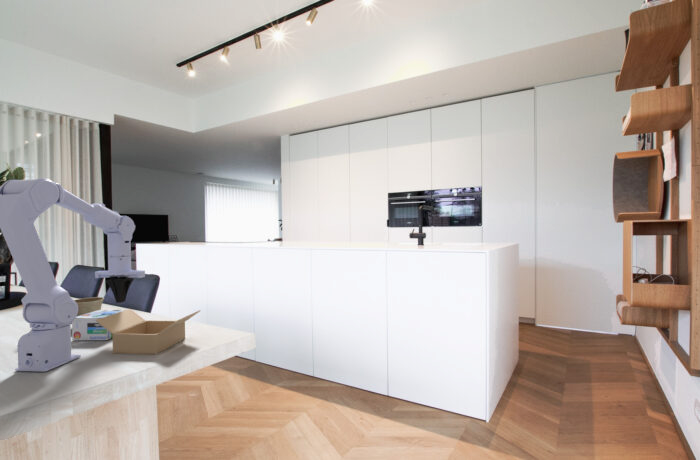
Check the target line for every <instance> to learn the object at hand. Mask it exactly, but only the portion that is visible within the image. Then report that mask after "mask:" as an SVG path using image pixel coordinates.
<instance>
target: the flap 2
mask: <svg viewBox="0 0 700 460" xmlns="http://www.w3.org/2000/svg"><path fill="white" fill-rule="evenodd" d="M200 312H201V309H200V310H197V311H195V312H193V313H191V314H189V315H186V316H184V317H182V318H180V319H178V320H174V321H175V322H173V323H172V324H171V325H169V326H168V327H166V328H165V329H163V330H162V331H161V332H159V333H158V334H157V335H159V334H161V333H163V332H165V331H167V330H169V329H171V328H173V327H175V326H177V325H179V324H181V323H183V322H185V323H186V322H187V321H188V320H190V319H191V318H192V317H194V316H195V315H197V314H198V313H200Z"/></svg>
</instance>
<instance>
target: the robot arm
mask: <svg viewBox="0 0 700 460" xmlns="http://www.w3.org/2000/svg"><path fill="white" fill-rule="evenodd" d="M53 205H57V206H59V207H62V208H64V209H67V210H69V211H70V212H74V213H76V214H79V215H80V216H82V219H83V221H84V222H86V223H88V224H90V225H93V226H94V227H97V228H99V229H101V230H102V232H103V234H105V235H106V236H107V270H97V271H94V278H95V279H101V278H103V279H104V278H105V279H106V278H107V279H106V280H105V281H106V282H105V284H107V285H108V286H109V288H110V290H111V292H112V295H113V297H114V300H115V303H116V304H117V303H119V304H120V303H124V302H126V299H127V294H128V292H129V289H130V287H131V285H132V283H133V281H134V279H135V278H137V279H142V278H146V271H145V270H137V269H136V270H135V269H132V247H131V241H132V239H133V234H134V232H135V230H136V224H135V222H134V220H133V219H132V218H131V217H129V216H127V215H120V214H119V212H118V211H116V210H115V211H114V210H112V209H110V208H108V207H106V204H104V203H102V202H100V203H98V202H97V203H95V202H94V203H91V204H90V203H89V202H87V201H85V200H84V199H82V198H80V197H78V196H77V195H76V194H73V193H72V192H70V191H68V190H66V189H65V188H64V187H63V186H62V184H60V183H57V182H55V181H54V180H51V179H49V178H46V177H42V178H35V179H34V178H32V179H9V180H7V181H5V182H4V183H2V185H1V186H0V230H1V234H2V235H3V237H4V240H5V242H6V246H7V247H8V248H7V249H8V250H9V252H10V255H11V256H12V260H13V261H14V264H15V266H16V269H17V271H18V274H19V276H20V278H21V281H22V282H23V283H22V284H23V285H24V288H25V290H26V292H27V293H26V294H25V295H24V296H23V297H22V298H21V301H20V302H21V303H22V317H23V319H24V321H25V322H26V323H28V324H29V328H30V331H29V332H27V333H25V334H23V335H22V336H20V338H19V339H18V341H17V366H18V367H16V368H15V369H14V371H15V372H16V371H17V372H48V371H50V370H53V369H56V368H57V367H60V366H62V365H64V364H67V363H69V362H71V361H74V360H76V359H79V358H80V357H81V354H72V324H73V322H72V321H73V320H74V319H75V318H76V316H77V314H78V305H77V303H76V302H75V301H74V300H75V299H73V298H72V297H71V295H70V293H69V292H68V290H66V289H65V288H63V287H61V286H60V285H59V284H58V283H57V281H56V278H55V275H54V272H53V270H52V266H51V265H50V262H49V260H48V257H47V254H46V252H45V250H44V247H43V245H42V242H41V241H42V240H41V239H40V236H39V234H38V231H37V229H36V226H35V222H36V220H37V219H38V218H39V217H40V216H41V214H43V213H45V212H46V211H47V210H48V209H50V208H52V206H53ZM108 278H109V279H108Z"/></svg>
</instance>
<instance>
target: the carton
mask: <svg viewBox="0 0 700 460" xmlns="http://www.w3.org/2000/svg"><path fill="white" fill-rule="evenodd" d="M175 321H176V320H147V319H145V321H144V322H141V323H139V324H136V325H134V326H131V327H129V328H126V329H124V330H121V331H119V332H116V333H114V334H112V336H113V337H112V354H130V355H131V354H133V355H136V354H137V355H158V354H160V353H161V352H163V351H165V350H166V349H168V348H170V347H172V346H174V345H175V344H177V343H179V342H182V341H183V340H185V339H186V321H185V322H183V323H181V324H179V325H177V326H175V327H173V328H171V329H169V330H167V331H165V332H163V333H161V334H159V335H157V334H158V333H159V332H161V331H162V330H163V329H165V328H166V327H168V326H169V325H171V324H172V323H173V322H175Z"/></svg>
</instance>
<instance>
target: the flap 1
mask: <svg viewBox="0 0 700 460" xmlns="http://www.w3.org/2000/svg"><path fill="white" fill-rule="evenodd" d="M124 310H125V311H122V312H119V313H116V314H113V315H110V316H106V317H103V318H100V319H97V320H96V322H98V323H99V324H100V325H101V326H103V327H104V328H105V329H107V330H108V331H109V332H110V333H112V334H114V333H116V332H119V331H121V330H124V329H126V328H129V327H131V326H134V325H136V324H139V323H141V322H144V321H146V319H144V318H143V317H142V316H140V315H139V314H138V313H137V312H135V311H134V310H132V309H131V308H128V309H124Z"/></svg>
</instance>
